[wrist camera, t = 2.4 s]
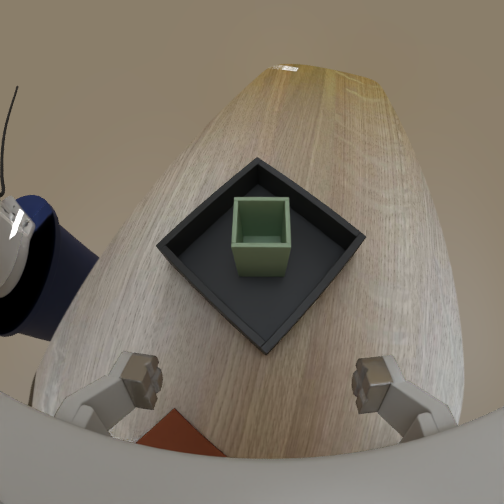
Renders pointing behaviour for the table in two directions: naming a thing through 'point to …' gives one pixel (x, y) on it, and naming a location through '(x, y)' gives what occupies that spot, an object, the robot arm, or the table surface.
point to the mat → (178, 437)
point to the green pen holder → (261, 236)
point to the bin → (261, 288)
